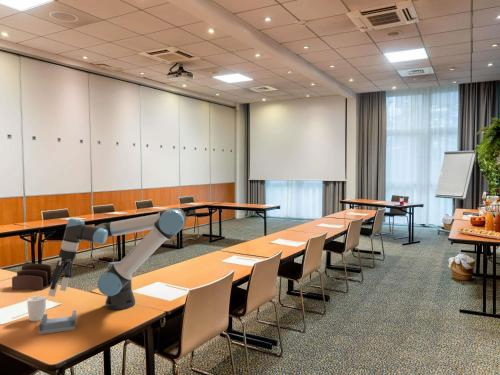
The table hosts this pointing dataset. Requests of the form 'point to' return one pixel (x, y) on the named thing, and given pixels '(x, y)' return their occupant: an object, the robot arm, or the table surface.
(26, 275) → the letter holder
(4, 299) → the table surface
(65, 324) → the dock
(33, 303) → the white cup
